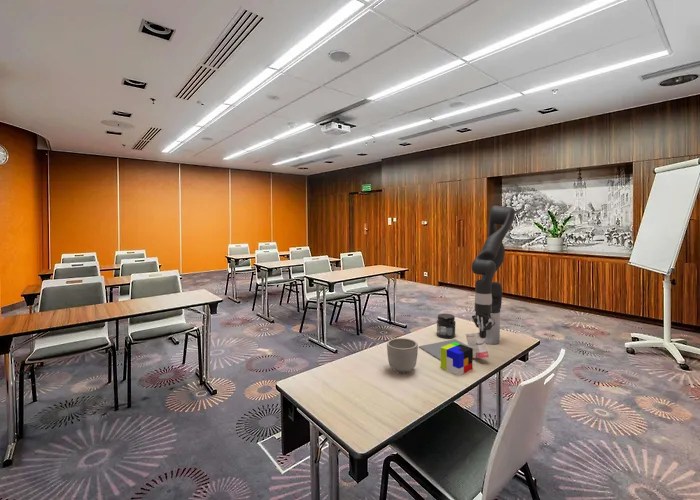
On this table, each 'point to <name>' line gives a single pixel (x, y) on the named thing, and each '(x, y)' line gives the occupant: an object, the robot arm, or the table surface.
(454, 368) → the puzzle toy
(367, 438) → the table surface
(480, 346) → the ink box
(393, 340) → the planter
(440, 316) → the supplement container
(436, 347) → the mat
